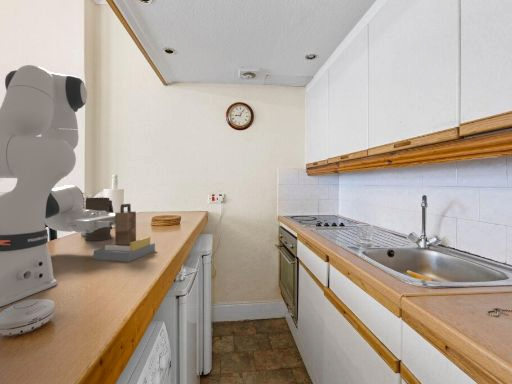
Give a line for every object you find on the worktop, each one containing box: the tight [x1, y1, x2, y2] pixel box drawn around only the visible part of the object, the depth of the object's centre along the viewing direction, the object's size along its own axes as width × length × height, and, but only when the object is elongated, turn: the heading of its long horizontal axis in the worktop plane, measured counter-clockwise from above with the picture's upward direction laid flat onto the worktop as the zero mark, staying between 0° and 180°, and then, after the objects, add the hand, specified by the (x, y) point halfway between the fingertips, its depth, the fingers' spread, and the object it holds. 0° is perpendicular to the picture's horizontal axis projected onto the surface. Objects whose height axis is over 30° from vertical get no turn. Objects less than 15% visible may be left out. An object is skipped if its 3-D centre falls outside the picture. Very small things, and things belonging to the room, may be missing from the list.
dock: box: [93, 236, 156, 263], centre depth 106 cm, size 14×16×6 cm
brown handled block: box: [114, 203, 137, 246], centre depth 105 cm, size 5×5×16 cm
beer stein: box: [84, 197, 114, 242], centre depth 136 cm, size 15×11×20 cm
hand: (119, 222), depth 106 cm, fingers open, 8 cm apart
